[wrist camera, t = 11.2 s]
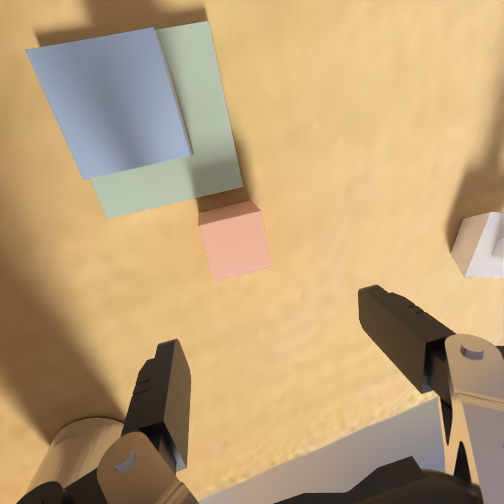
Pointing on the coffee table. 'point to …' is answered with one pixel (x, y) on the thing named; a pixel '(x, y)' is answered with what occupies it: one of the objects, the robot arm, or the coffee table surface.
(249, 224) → the terracotta block
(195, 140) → the baseplate
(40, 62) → the slate block
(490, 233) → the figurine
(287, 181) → the coffee table surface
